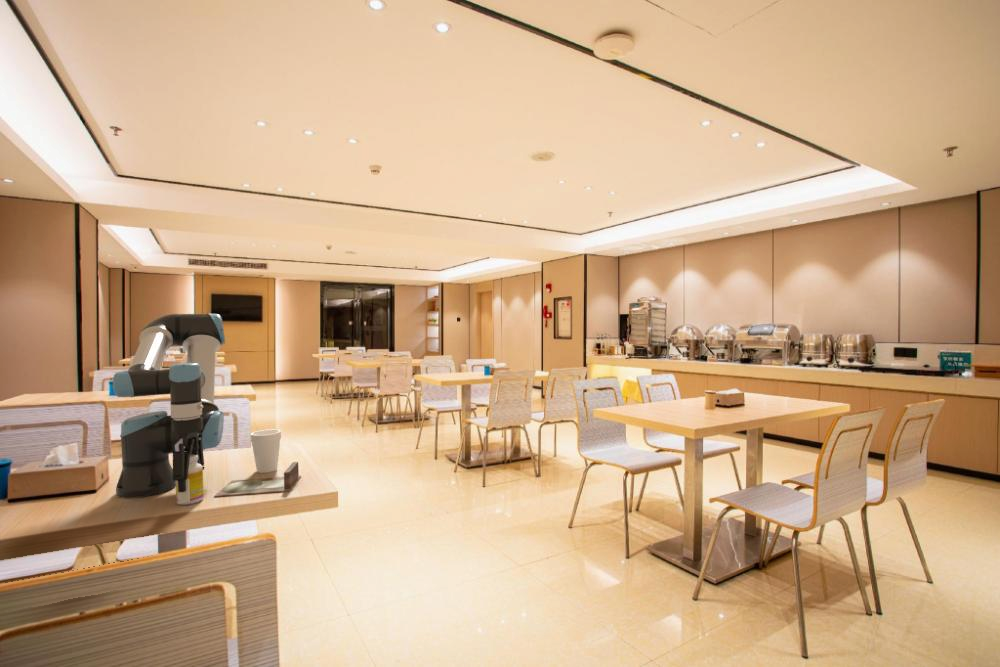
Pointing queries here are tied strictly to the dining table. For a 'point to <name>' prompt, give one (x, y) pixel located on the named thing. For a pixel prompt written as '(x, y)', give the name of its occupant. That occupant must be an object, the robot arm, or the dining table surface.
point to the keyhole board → (262, 484)
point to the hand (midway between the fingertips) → (190, 497)
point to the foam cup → (266, 449)
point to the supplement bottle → (194, 481)
